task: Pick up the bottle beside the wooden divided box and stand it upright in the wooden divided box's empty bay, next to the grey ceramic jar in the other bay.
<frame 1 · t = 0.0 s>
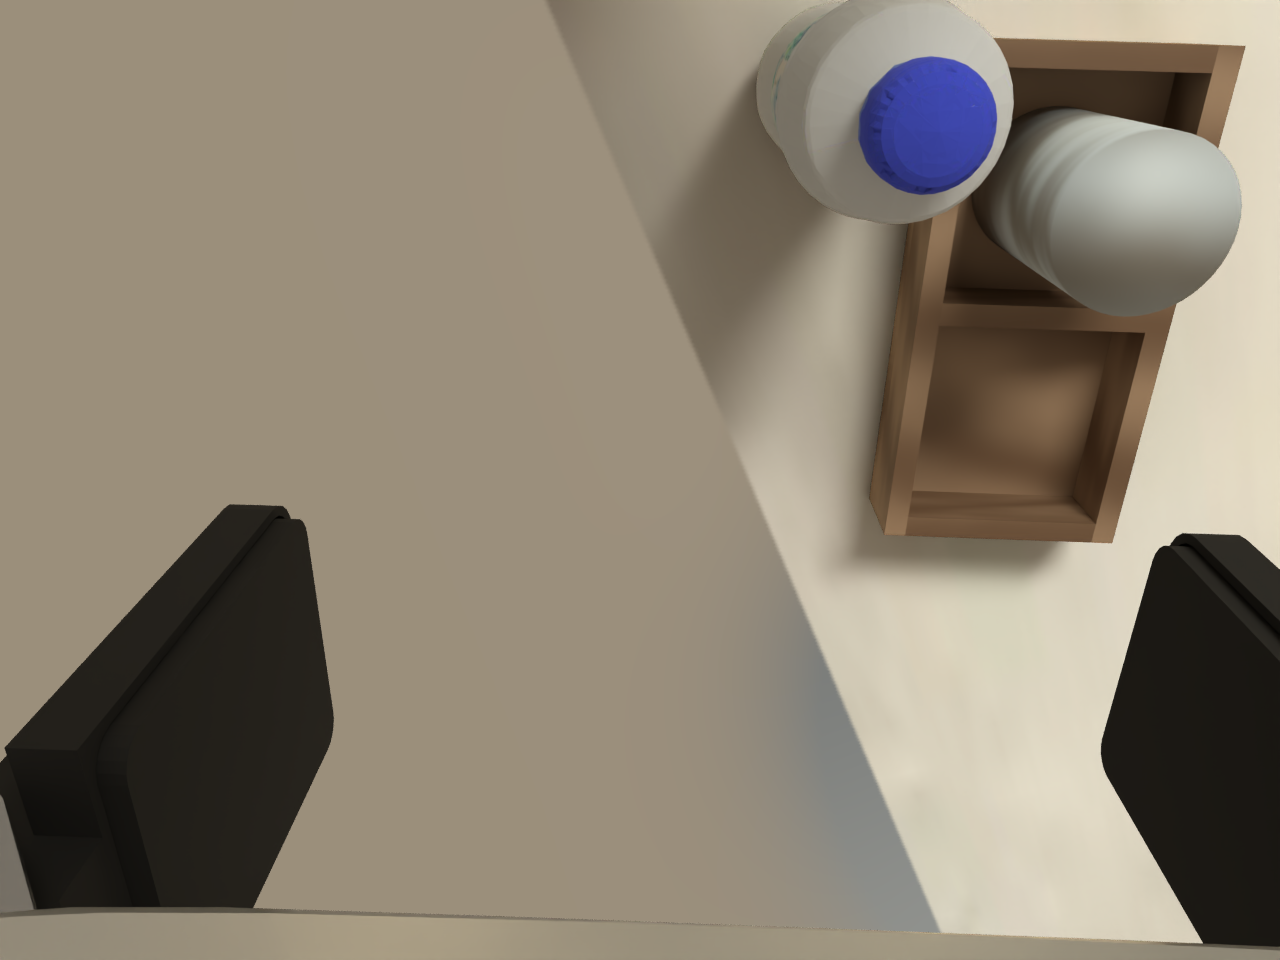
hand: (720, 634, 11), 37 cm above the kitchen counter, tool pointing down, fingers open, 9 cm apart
bottle: (823, 83, 42), on the kitchen counter
wooden divided box: (1015, 294, 46), on the kitchen counter
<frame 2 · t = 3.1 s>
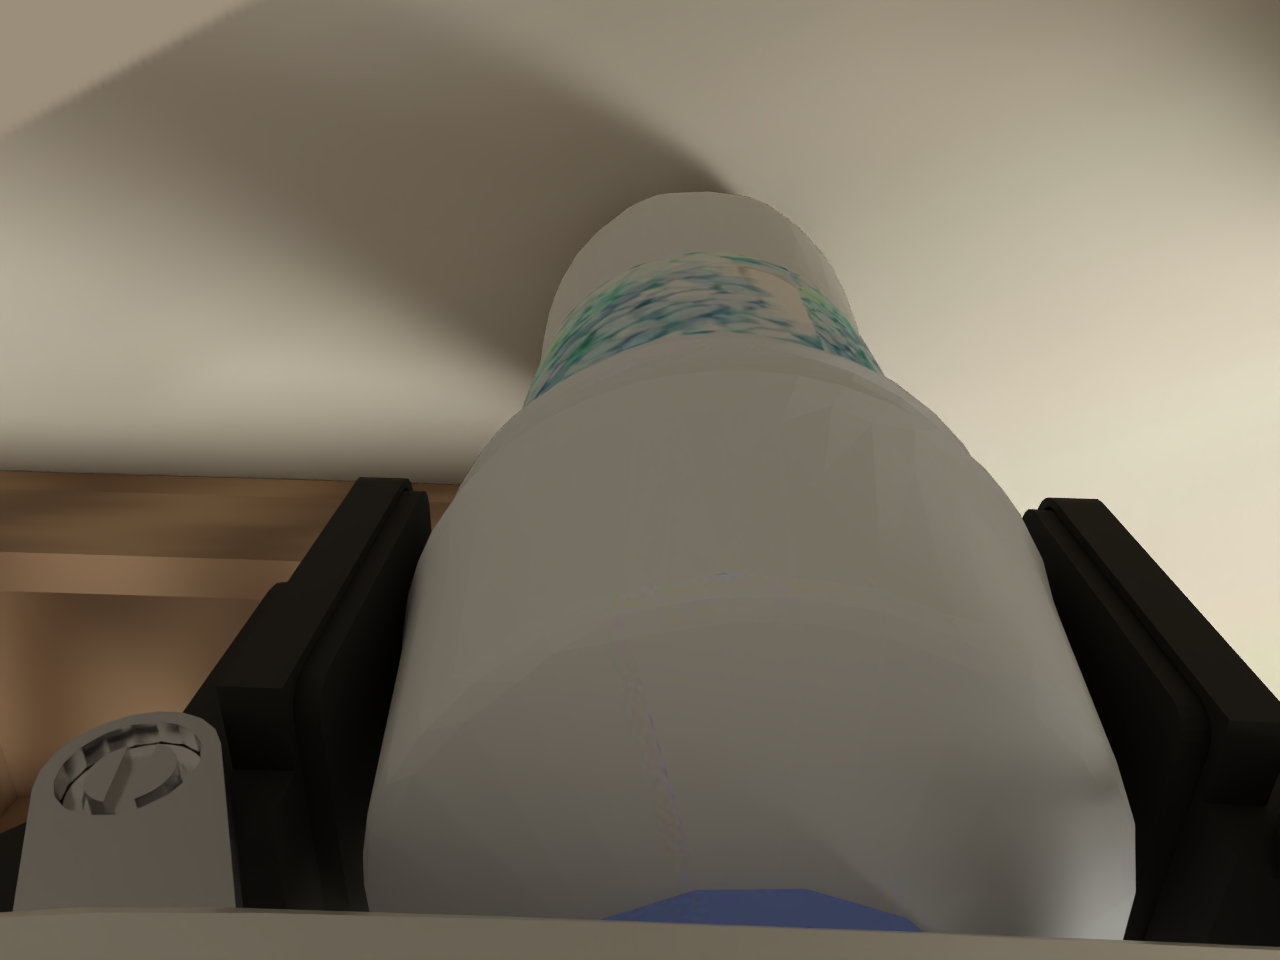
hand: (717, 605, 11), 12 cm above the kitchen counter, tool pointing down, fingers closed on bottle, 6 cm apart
bottle: (695, 314, 23), on the kitchen counter, touching gripper
wooden divided box: (354, 660, 27), on the kitchen counter
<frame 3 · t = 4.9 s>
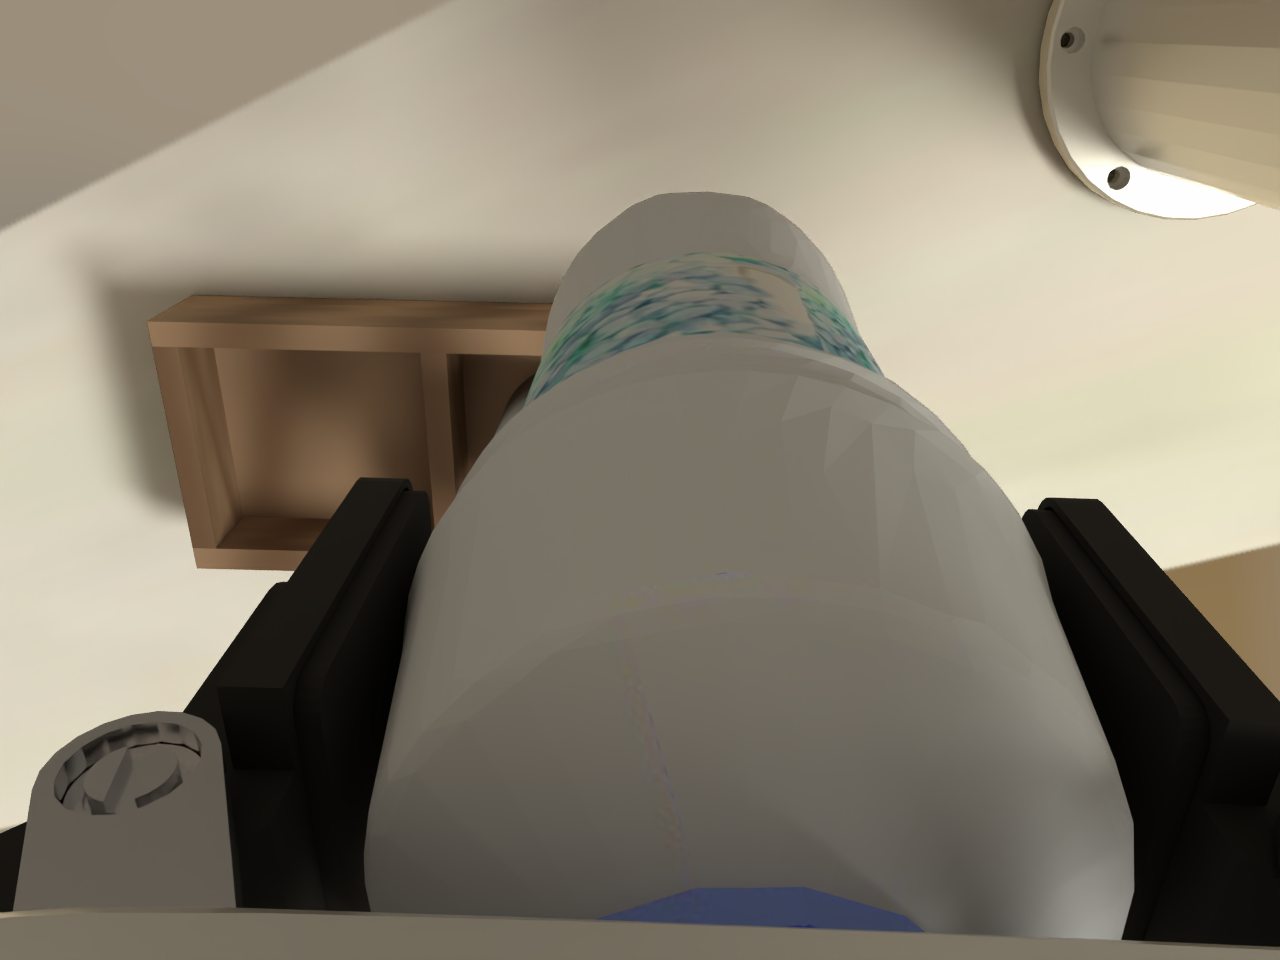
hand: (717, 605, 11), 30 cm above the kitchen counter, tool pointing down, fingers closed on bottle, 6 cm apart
bottle: (695, 314, 23), point 18 cm above the kitchen counter, touching gripper
wooden divided box: (459, 422, 43), on the kitchen counter
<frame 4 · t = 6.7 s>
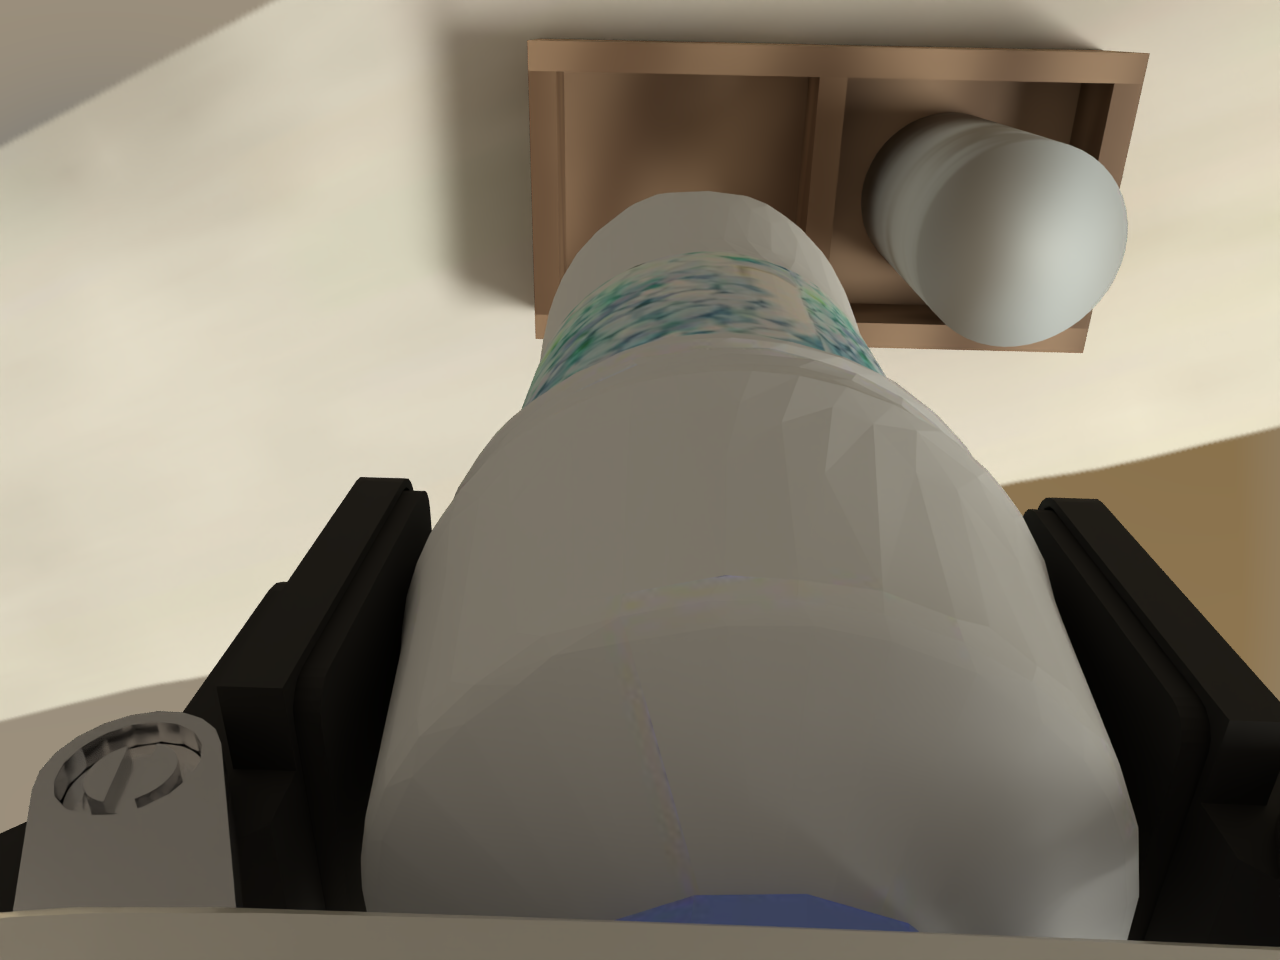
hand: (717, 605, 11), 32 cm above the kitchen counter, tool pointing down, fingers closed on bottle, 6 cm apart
bottle: (695, 314, 23), point 20 cm above the kitchen counter, touching gripper
wooden divided box: (807, 189, 40), on the kitchen counter
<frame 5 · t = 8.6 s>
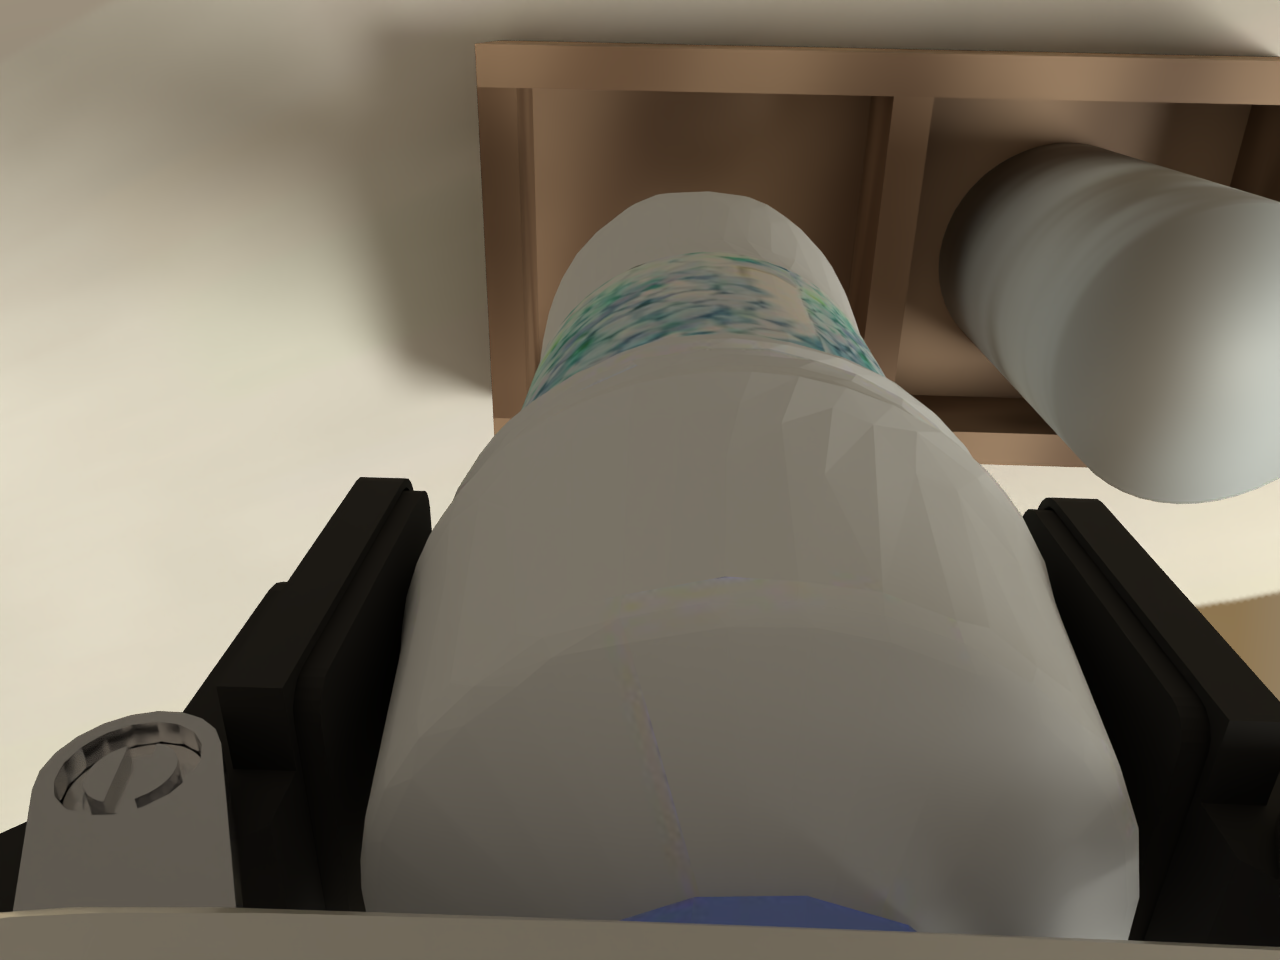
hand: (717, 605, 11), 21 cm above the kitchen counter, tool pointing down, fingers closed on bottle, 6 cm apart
bottle: (695, 314, 23), point 8 cm above the kitchen counter, touching gripper
wooden divided box: (864, 244, 30), on the kitchen counter
when the fingers open (15 cm above the kitchen counter, at t = 10.4 s): bottle drops 1 cm, resting on wooden divided box.
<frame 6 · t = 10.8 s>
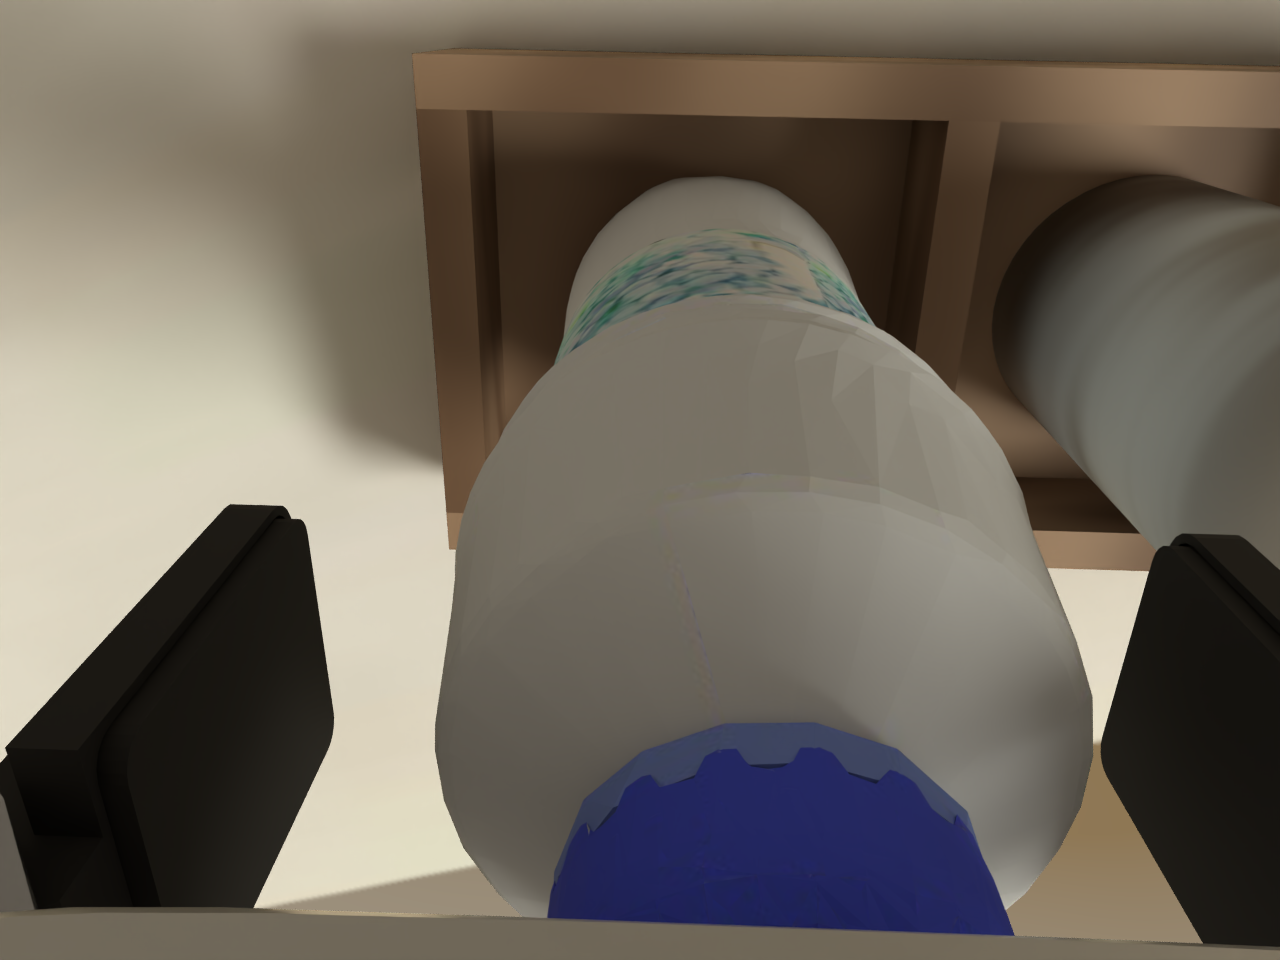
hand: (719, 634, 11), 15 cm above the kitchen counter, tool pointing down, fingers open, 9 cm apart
bottle: (706, 294, 24), point 1 cm above the kitchen counter, touching wooden divided box
wooden divided box: (900, 295, 25), on the kitchen counter
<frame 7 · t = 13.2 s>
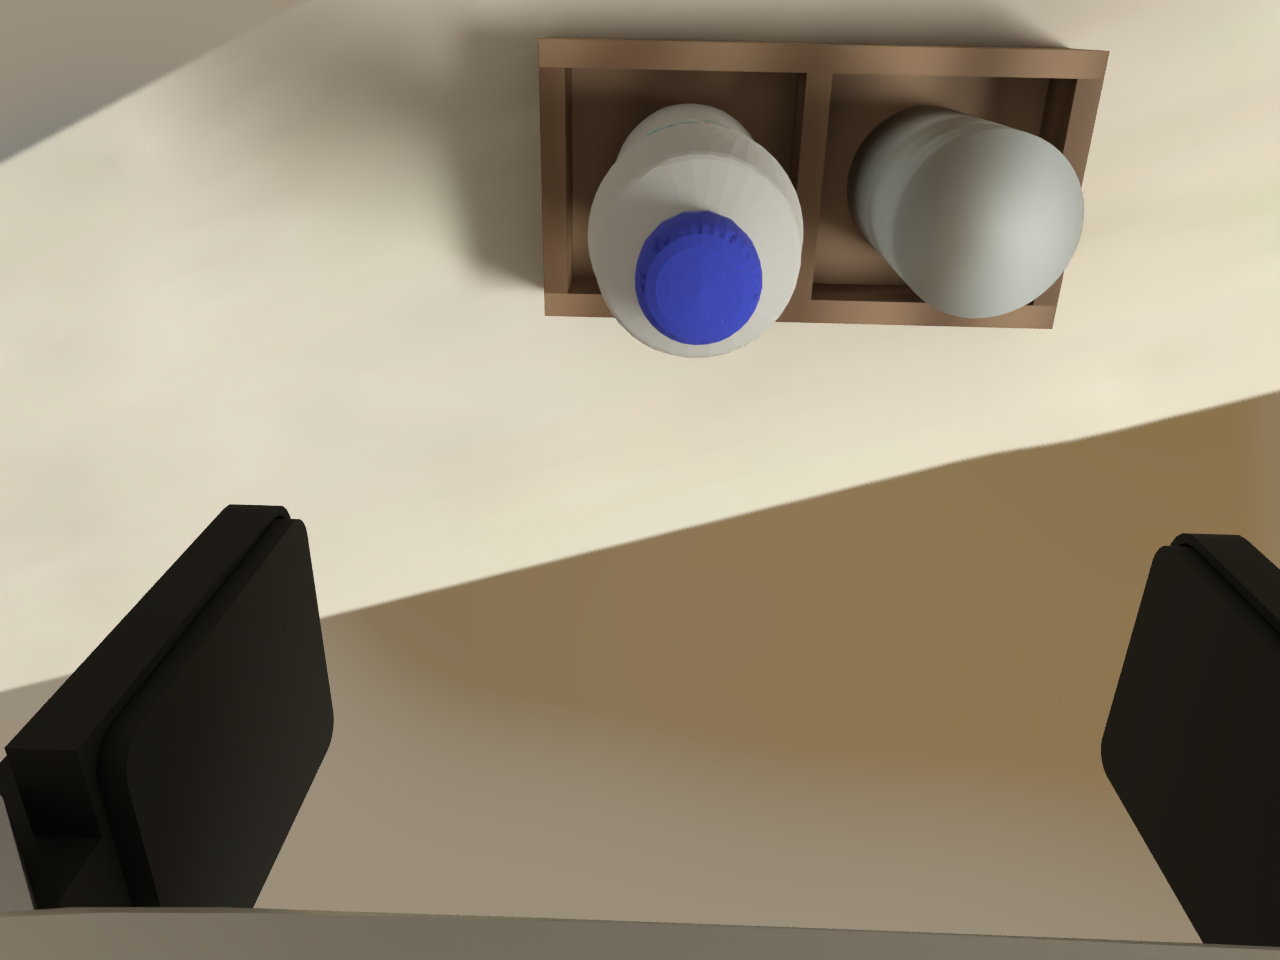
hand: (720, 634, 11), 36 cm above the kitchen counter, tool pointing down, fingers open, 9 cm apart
bottle: (687, 175, 43), point 1 cm above the kitchen counter, touching wooden divided box
wooden divided box: (797, 177, 43), on the kitchen counter
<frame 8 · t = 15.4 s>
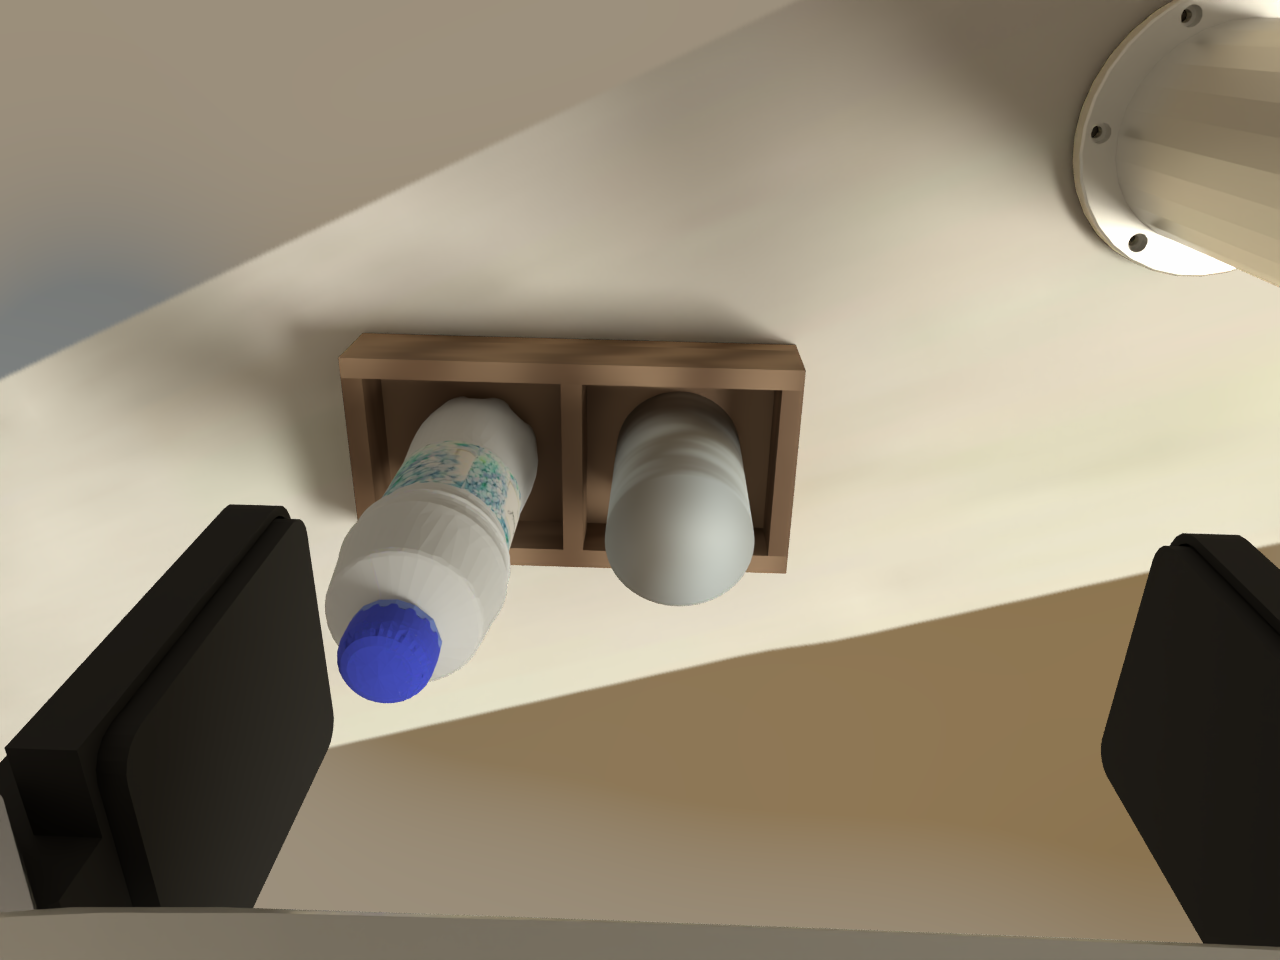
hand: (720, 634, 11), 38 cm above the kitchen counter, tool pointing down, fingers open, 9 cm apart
bottle: (483, 440, 51), point 1 cm above the kitchen counter, touching wooden divided box
wooden divided box: (579, 438, 51), on the kitchen counter
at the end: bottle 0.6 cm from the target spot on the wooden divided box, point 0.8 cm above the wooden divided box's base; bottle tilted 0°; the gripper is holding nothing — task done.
